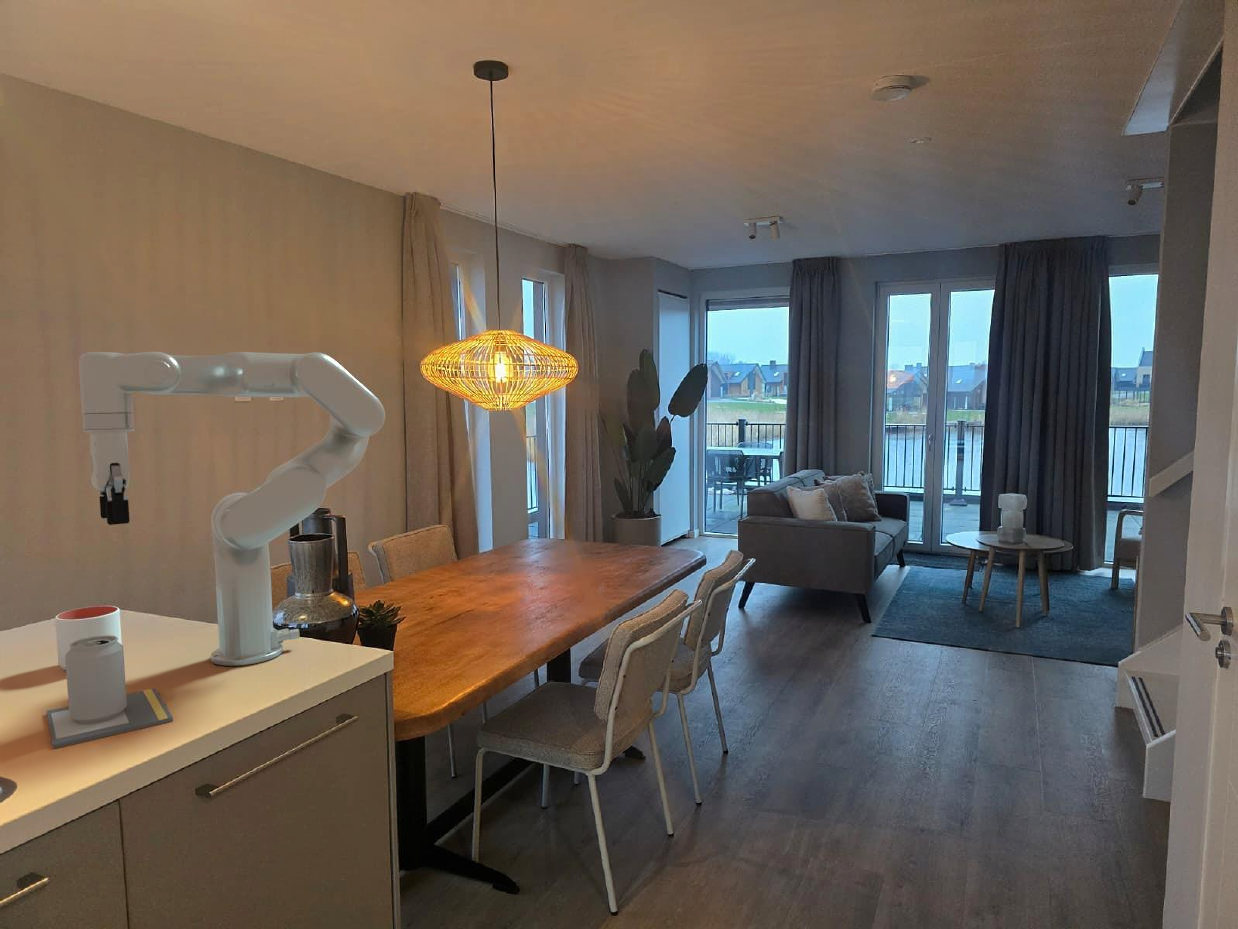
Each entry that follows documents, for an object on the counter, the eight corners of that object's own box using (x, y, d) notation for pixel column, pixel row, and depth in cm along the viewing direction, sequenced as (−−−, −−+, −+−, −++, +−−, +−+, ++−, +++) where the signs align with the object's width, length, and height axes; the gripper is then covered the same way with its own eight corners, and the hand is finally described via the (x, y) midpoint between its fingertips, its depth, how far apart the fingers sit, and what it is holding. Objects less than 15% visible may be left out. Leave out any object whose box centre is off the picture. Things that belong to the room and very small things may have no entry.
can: (137, 712, 123) (132, 637, 122) (84, 729, 117) (79, 650, 116) (112, 703, 127) (107, 630, 126) (60, 719, 121) (54, 642, 120)
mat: (155, 691, 134) (155, 687, 134) (172, 721, 122) (172, 716, 121) (46, 714, 125) (46, 710, 125) (53, 748, 112) (52, 744, 112)
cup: (49, 676, 142) (45, 622, 141) (70, 659, 152) (67, 608, 151) (112, 670, 145) (109, 617, 144) (129, 654, 154) (126, 603, 154)
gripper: (78, 423, 142) (84, 517, 143) (87, 425, 129) (94, 529, 130) (126, 422, 147) (132, 513, 148) (141, 424, 133) (147, 524, 135)
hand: (114, 520), depth 139 cm, fingers open, 9 cm apart
